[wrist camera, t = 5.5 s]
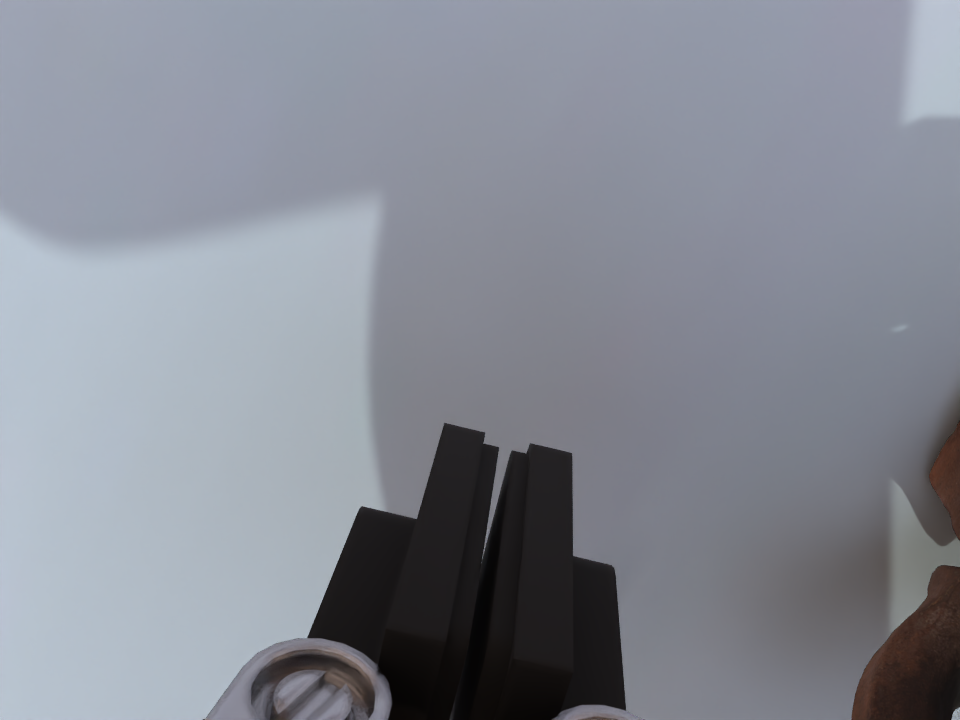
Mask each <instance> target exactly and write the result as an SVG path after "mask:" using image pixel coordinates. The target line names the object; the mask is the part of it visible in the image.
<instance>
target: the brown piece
mask: <svg viewBox="0 0 960 720" xmlns="http://www.w3.org/2000/svg"><path fill="white" fill-rule="evenodd" d="M929 479H930V482H931V485H932V487H933V488H934V490H935V492H936V493H937V495H938V496H939V498H940V499H941V501H942V503H943V505H944V507H945V508H946V509H947V511H948V512H949V515H950V517H951V521H952V527H953V530H954V532H955V534H956V536H957V538H958V539H959V540H960V421H959V423H958V424H957V427H956V429H955V431H954V432H953V434H952V435H951V436H950V437H949V438H948V440H947V441H946V443H945V445H944V446H943V448H942V449H941V451H940V453H939V456H938V457H937V459H936V461H935V462H934V465H933V467H932V469H931V471H930V474H929ZM959 707H960V567H955V566H947V565H941V566H939V567H937V568H936V569H935V571H934V572H933V573H932V575H931V578H930V582H929V585H928V596H927V598H926V599H925V601H924V602H923V603H922V604H921V605H920V607H919V608H918V609H917V610H916V611H915V612H914V613H913V614H912V615H910V616H909V617H908V618H907V619H906V620H905V621H904V622H903V623H902V624H901V625H900V626H899V627H898V628H897V629H895V630H894V631H893V632H892V634H891V635H890V637H889V638H888V639H887V641H886V642H885V643H884V644H883V645H882V647H881V648H880V649H879V650H878V651H877V652H876V653H875V654H874V655H873V657H872V658H871V660H870V661H869V663H868V664H867V666H866V668H865V669H864V672H863V674H862V677H861V679H860V681H859V684H858V687H857V691H856V693H855V699H854V704H853V710H852V719H851V720H951V719H952V714H953V712H954V710H955V709H957V708H959Z"/></svg>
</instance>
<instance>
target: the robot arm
mask: <svg viewBox="0 0 960 720" xmlns="http://www.w3.org/2000/svg"><path fill="white" fill-rule="evenodd" d="M484 437H485V432H480V431H476V430H472V429H468V428H463V427H459V426H455V425H451V424H447V423H444V426H443V430H442V433H441V437H440V440H439V444H438V447H437V451H436V454H435V458H434V461H433V465H432V468H431V472H430V475H429V479H428V482H427V486H426V489H425V493H424V496H423V500H422V503H421V507H420V510H419V514H418V517H417V519H413V518H409V517H405V516H401V515H396V514H392V513H388V512H384V511H380V510H375V509H371V508H367V507H363V506H362V507H361V508H360V509H359V511H358V513H357V516H356V518H355V521H354V523H353V526H352V528H351V530H350V533H349V535H348V538H347V540H346V543H345V545H344V548H343V550H342V553H341V555H340V558H339V560H338V563H337V565H336V568H335V570H334V573H333V575H332V578H331V580H330V583H329V585H328V588H327V590H326V593H325V595H324V598H323V600H322V603H321V605H320V608H319V610H318V613H317V615H316V618H315V620H314V623H313V625H312V628H311V630H310V633H309V635H308V638H298V639H293V640H289V641H284V642H280V643H276V644H274V645H272V646H270V647H268V648H266V649H264V650H262V651H260V652H258V653H257V654H256V655H255V656H254V657H253V658H252V659H251V660H250V661H249V662H247V663H246V664H245V665H244V666H243V667H242V669H241V670H240V671H239V673H238V674H237V676H236V677H235V678H234V680H233V681H232V682H231V684H230V685H229V687H228V688H227V689H226V691H225V692H224V694H223V695H222V696H221V698H220V699H219V700H218V702H217V703H216V705H215V706H214V707H213V709H212V710H211V712H210V713H209V714H208V716H207V717H206V718H205V719H203V720H644V719H642V718H640V717H638V716H636V715H634V714H632V713H629V712H627V711H626V704H625V691H624V678H623V665H622V652H621V639H620V627H619V614H618V601H617V588H616V576H615V570H614V567H613V566H612V565H608V564H604V563H600V562H595V561H591V560H587V559H583V558H578V557H574V556H573V499H572V453H569V452H565V451H561V450H557V449H552V448H548V447H544V446H540V445H535V444H531V443H530V445H529V448H528V450H527V454H525V453H521V452H517V451H513V450H512V451H511V454H510V457H509V461H508V465H507V468H506V472H505V476H504V480H503V484H502V487H501V491H500V495H499V499H498V503H497V506H496V510H495V514H494V518H493V522H492V525H491V529H490V533H489V537H488V541H487V544H486V548H485V552H484V556H483V549H484V543H485V536H486V530H487V523H488V517H489V510H490V504H491V497H492V490H493V484H494V477H495V471H496V464H497V458H498V451H499V447H496V446H492V445H487V444H483V442H484ZM482 556H483V560H482ZM481 562H482V563H481Z"/></svg>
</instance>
